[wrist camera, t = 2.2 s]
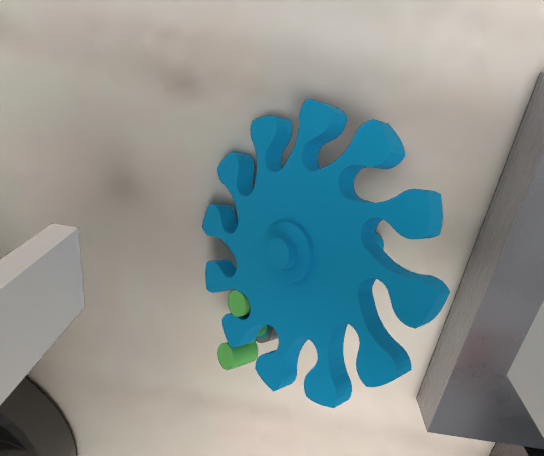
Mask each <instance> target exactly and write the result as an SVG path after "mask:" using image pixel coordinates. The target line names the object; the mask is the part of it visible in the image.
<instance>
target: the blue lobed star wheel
mask: <svg viewBox="0 0 544 456" xmlns="http://www.w3.org/2000/svg"><path fill="white" fill-rule="evenodd" d="M346 122H347V115H346V114H345V113H344V112H343V111H342V110H340V109H339V108H337V107H334V106H331V105H328V104H325V103H322V102H319V101H316V100H312V99H307V100H306V101H305V102H304V104H303V106H302V108H301V110H300V114H299V130H298V136H297V140H296V144H295V146H294V149H293V151H292V153H291V155H290V157H289V158H288V160H287V162H286V163H285V165H284V166H283V168H282V167H281V155H282V153H283V151H284V149H285V148H286V146H287V144H288V143H289V141H290V139H291V136H292V124H291V121H290V120H288V119H284V118H280V117H276V116H271V115H268V116H263V117H260V118H257V119H255V120H253V121H252V124H251V138H252V141H253V143H254V146H255V150H256V155H257V174H256V181H255V186H254V189H253V186H252V183H253V176H254V162H253V159H252V158H251V156H250V155H249V154H243V153H236V152H232V153H230V154H228V155H227V156H226V157H225V158H224V159H223V160H222V162H221V163H220V164H219V166H218V167H217V173H218V177H219V179H220V181H221V182H222V183H223V184H224V185H225V186H226V187H227V188H228V189H229V191H230V193H231V194H232V197H233V199H234V202H235V206H236V210H237V215H238V224H237V219H236V215H235V212H234V210H233V208H232V207H231V206H230V205H223V204H210V205H209V207H208V208H207V211H206V213H205V217H204V220H203V225H202V228H203V230H204V232H205V233H206V234H207V235H209V236H215V237H217V238H219V239H221V240H222V241H223V242H224V243H226V245H227V246H228V247H229V249H230V250H231V252H232V253H233V255H234V256H235V258H236V262H237V268H236V267H235V265H234V264H233V262H232V261H230V260H228V259H224V260H215V261H208V262H207V263H206V272H205V276H206V289H207V290H208V291H210V292H212V293H215V292H221V291H227V290H231V289H235V290H233V291H232V292H231V293H230V295H229V297H228V305H229V309H230V311H231V313H230V314H226V315H225V316H224V317H223V319H222V325H223V329H224V333H225V335H226V338H227V340H228V342H226V343H223V344H221V345H220V346H219V347H218V352H217V355H218V360H219V363H220V365H221V366H222V367H223V368H224V369H226V370H230V369H233V368H235V367H238V366H241V365H244V364H247V363H250V362H252V361H255V360H256V359H257V357H258V347H257V344H256V341H257V342H260V343H264V342H267V341H271V340H274V339H277V338H278V339H279V345H278V349H277V350H274V351H271V352H269V353H266V354H263V355H261V356H259V358H258V359H257V361H256V371H257V372H258V374H259V376H260V377H261V379H262V380H263V381H264V382H265V383H266V385H267V386H268V387H270V388H271V389H272V390H273V391H276V390H278V389H280V388H283V387H285V386H287V385H289V384H292V383H293V382H294V381H295V379H296V375H297V361H298V356H299V353H300V350H301V348H302V346H303V345H304V343H305V342H306V341H307V340H308V339H310V340H311V341H312V342H313V343H314V345H315V347H316V349H317V353H318V361H317V364H316V365H315V367H314V368H313V369H312V370H311V371H310V372H309V373H308V374H307V375H306V377H305V381H304V389H305V394H306V396H307V397H308V398H309V399H311V400H312V401H314V402H316V403H318V404H320V405H323V406H327V407H331V408H335V407H336V406H338V405H340V404H342V403H343V402H345V401H347V400H349V398H350V396H351V392H352V385H351V381H350V378H349V376H348V373H347V370H346V367H345V363H344V357H343V342H344V336H345V331H346V327H347V324H350V325H351V326H352V327H353V328H354V329H355V330H356V332H357V334H358V336H359V341H360V345H359V351H358V355H357V360H356V368H357V372H358V375H359V377H360V379H361V381H362V382H363V383H364V384H365V386H366V387H377V386H381V385H384V384H387V383H389V382H391V381H393V380H395V379H396V378H398V377H400V376H402V375H403V374H405V373H407V372H408V371H410V370H411V361H410V358H409V356H408V354H407V352H406V351H405V350H404V348H403V347H402V346H401V345H399V344H398V343H397V342H396V341H395V340H394V339H393V338H392V337H391V335H390V334H389V333H388V332H387V330H386V329H385V327H384V326H383V324H382V322H381V320H380V318H379V316H378V313H377V309H376V306H375V302H374V298H373V294H372V286H373V283H374V281H375V280H376V279H378V280H380V281H381V282H382V283H383V284H384V285H385V286H386V288H387V289H388V292H389V295H390V299H391V303H392V307H393V310H394V312H395V314H396V316H397V317H398V318H399V320H400V321H401V322H403V323H404V324H405V325H407V326H409V327H412V328H417V327H420V326H422V325H424V324H426V323H429V322H430V321H431V320H433V319H434V318H435V317H436V316H437V315H438V313H439V312H440V311H441V309H442V307H443V306H444V304H445V302H446V299H447V297H448V295H449V293H450V291H449V289H448V287H447V286H446V285H445V284H444V283H443V282H442V281H441V280H440V279H438V278H437V277H434V276H431V275H422V274H418V273H414V272H411V271H409V270H407V269H405V268H402V267H401V266H400V265H398V264H397V263H395V262H394V261H393V260H392V259H391V258H390V257H389V256H388V255H387V254H386V253H385V252H384V251H383V246H384V243H383V239H382V238H381V236H380V235H379V234H377V233H375V231H376V227H377V225H378V224H379V222H380V221H381V220H383V219H384V220H386V221H387V222H388V223H389V224H390V225H391V226H392V227H393V228H394V229H395V230H396V231H397V232H398V233H399V234H400V235H401V236H403V237H405V238H408V239H423V238H431V237H435V236H438V235H439V234H440V231H441V227H442V220H443V210H442V201H441V194H439V193H437V192H435V191H430V190H421V189H410V190H407V191H404V192H402V193H401V194H399V195H398V196H396V197H394V198H392V199H390V200H387V201H384V202H380V203H374V202H370V201H366V200H363V199H361V198H359V197H358V196H357V195H356V193H355V191H354V179H355V176H356V174H357V173H358V172H359V171H360V170H361V169H363V168H365V167H373V168H380V169H389V168H392V167H395V166H396V165H398V164H399V163H400V162H401V161H402V160H403V158H404V157H405V151H404V147H403V145H402V142H401V140H400V138H399V137H398V135H397V134H396V132H395V131H394V130H393V129H392V127H391V126H390V125H389V124H387V123H384V122H381V121H378V120H370V121H367V122H365V123H364V124H363V125H362V126H360V127H359V129H358V130H357V132H356V133H355V136H354V138H353V140H352V142H351V143H350V145H349V146H348V148H347V149H346V151H345V152H344V153H343V154H342V155H341V156H340V157H339V158H338V159H337V160H336V161H334V162H333V163H331V164H330V165H328V166H326V167H324V168H322V169H320V167H319V165H318V160H317V158H318V153H319V150H320V149H321V147H322V146H323V145H324V144H326V143H327V142H329V141H331V140H333V139H335V138H336V137H338V136H339V135H340V134H341V133H342V131H343V130H344V128H345V126H346Z"/></svg>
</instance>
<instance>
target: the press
mask: <svg viewBox="0 0 544 456" xmlns="http://www.w3.org/2000/svg"><path fill="white" fill-rule="evenodd" d="M543 301H544V73H540V76H539V78H538V81H537V84H536V86H535V89H534V91H533V94H532V97H531V99H530V102H529V105H528V107H527V110H526V112H525V115H524V118H523V120H522V123H521V126H520V128H519V131H518V133H517V136H516V139H515V141H514V144H513V147H512V149H511V152H510V154H509V157H508V160H507V162H506V165H505V168H504V170H503V173H502V175H501V178H500V181H499V183H498V186H497V189H496V191H495V194H494V196H493V199H492V202H491V204H490V207H489V210H488V212H487V215H486V217H485V220H484V223H483V225H482V228H481V231H480V233H479V236H478V238H477V241H476V244H475V246H474V249H473V252H472V254H471V257H470V259H469V262H468V265H467V267H466V270H465V273H464V275H463V278H462V280H461V283H460V286H459V288H458V291H457V294H456V296H455V299H454V301H453V304H452V307H451V309H450V312H449V315H448V317H447V320H446V322H445V325H444V328H443V330H442V333H441V336H440V338H439V341H438V343H437V346H436V349H435V351H434V354H433V357H432V359H431V362H430V364H429V367H428V370H427V372H426V375H425V378H424V380H423V383H422V385H421V388H420V391H419V393H418V396H417V402H418V405H419V408H420V411H421V414H422V417H423V420H424V423H425V426H426V429H427V432H431V433H438V434H445V435H451V436H458V437H465V438H471V439H478V440H485V441H491V442H496V444H495V446H494V448H493V450H492V452H491V454H490V456H544V437H543V436H542V434H541V432H540V431H539V429H538V427H537V426H536V424H535V422H534V421H533V419H532V417H531V415H530V414H529V412H528V410H527V409H526V407H525V405H524V404H523V402H522V400H521V399H520V397H519V395H518V393H517V392H516V390H515V388H514V387H513V385H512V383H511V382H510V380H509V378H508V377H507V373H508V371H509V369H510V367H511V365H512V363H513V361H514V359H515V357H516V355H517V353H518V351H519V349H520V347H521V345H522V343H523V341H524V339H525V337H526V335H527V333H528V331H529V329H530V327H531V325H532V323H533V321H534V319H535V317H536V315H537V313H538V311H539V309H540V307H541V305H542V303H543Z"/></svg>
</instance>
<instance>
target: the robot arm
mask: <svg viewBox="0 0 544 456" xmlns="http://www.w3.org/2000/svg"><path fill="white" fill-rule="evenodd" d="M84 307H85V303H84V290H83V278H82V265H81V253H80V240H79V228H78V227H72V226H66V225H59V224H53V223H52V224H51V225H49V226H48V227H46V228H45V229H43V230H42V231H41V232H39V233H38V234H36V235H35V236H33V237H32V238H30V239H29V240H28V241H26V242H25V243H23V244H22V245H20V246H19V247H17V248H16V249H15V250H13V251H12V252H10V253H9V254H7V255H6V256H5V257H3V258H2V259H0V456H76V449H75V444H74V440H73V437H72V434H71V432H70V430H69V428H68V425H67V424H66V422H65V420H64V418H63V417H62V415H61V414H60V412H59V411H58V410H57V408H56V407H55V406H54V405H53V403H52V402H51V401H50V400H49V399H48V398H47V397H46V396H45V395H44V394H43V393H42V392H41V391H40V390H39V389H38V388H37V387H36V386H35V385H34V384H32V383H31V382H30V381H29V380H28V379H26V378H25V376H26V375H27V374H28V373H29V371H30V370H31V369H32V368H33V367H34V366H35V364H36V363H37V362H38V361H39V360H40V359H41V357H42V356H43V355H44V354H45V353H46V352H47V350H48V349H49V348H50V347H51V346H52V345H53V343H54V342H55V341H56V340H57V339H58V338H59V336H60V335H61V334H62V333H63V332H64V331H65V330H66V328H67V327H68V326H69V325H70V324H71V323H72V321H73V320H74V319H75V318H76V317H77V316H78V314H79V313H80V312H81V311H82V310H83V309H84ZM507 377H508V378H509V380H510V382H511V383H512V385H513V387H514V388H515V390H516V392H517V393H518V395H519V397H520V399H521V400H522V402H523V404H524V405H525V407H526V409H527V410H528V412H529V414H530V415H531V417H532V419H533V421H534V422H535V424H536V426H537V427H538V429H539V431H540V432H541V434H542V436H543V437H544V301H543V303H542V305H541V307H540V309H539V311H538V313H537V315H536V317H535V319H534V321H533V323H532V325H531V327H530V329H529V331H528V333H527V335H526V337H525V339H524V341H523V343H522V345H521V347H520V349H519V351H518V353H517V355H516V357H515V359H514V361H513V363H512V365H511V367H510V369H509V371H508V373H507Z"/></svg>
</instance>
